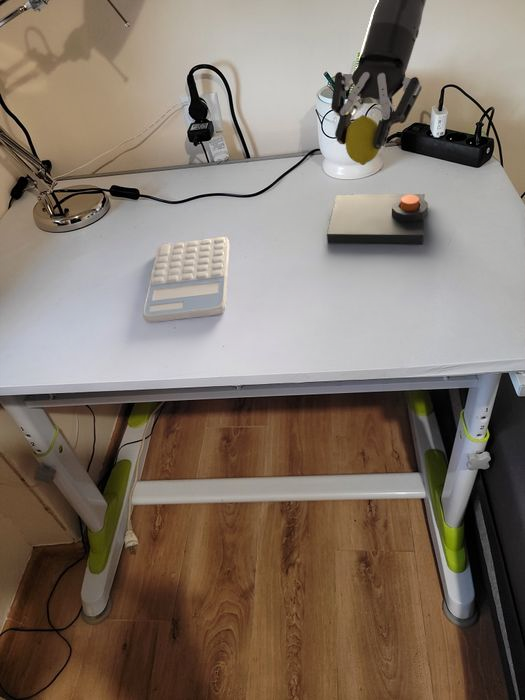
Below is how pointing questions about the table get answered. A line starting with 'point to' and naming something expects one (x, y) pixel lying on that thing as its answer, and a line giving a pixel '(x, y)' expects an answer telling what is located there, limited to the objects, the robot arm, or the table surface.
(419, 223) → the scale
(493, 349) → the table surface
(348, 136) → the lemon
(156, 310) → the calculator
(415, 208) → the button
